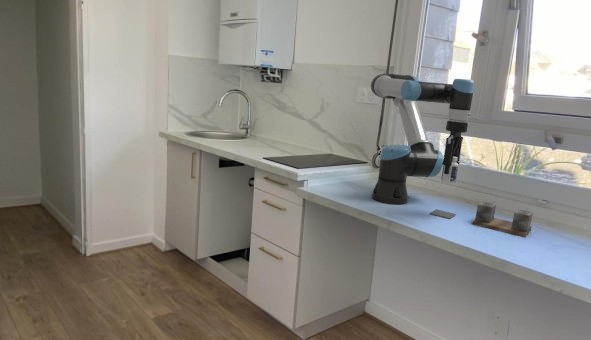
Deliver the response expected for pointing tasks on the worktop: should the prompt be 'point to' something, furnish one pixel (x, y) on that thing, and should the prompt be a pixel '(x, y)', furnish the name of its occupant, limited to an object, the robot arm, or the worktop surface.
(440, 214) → the pad
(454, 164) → the pill bottle
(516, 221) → the board with two blocks
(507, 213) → the worktop surface
